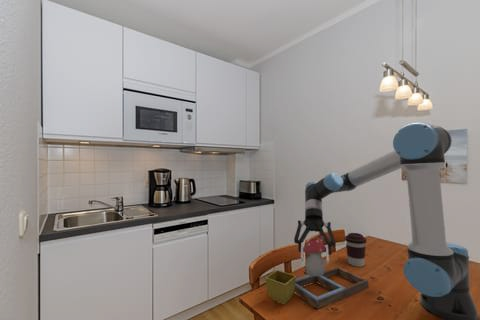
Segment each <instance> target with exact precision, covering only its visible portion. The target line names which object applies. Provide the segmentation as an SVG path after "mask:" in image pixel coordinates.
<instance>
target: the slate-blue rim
mask: <svg viewBox="0 0 480 320" xmlns="http://www.w3.org/2000/svg"><path fill="white" fill-rule="evenodd" d="M311 277H314V276H310V275H307V274H306V275H304V276H300V277H298V278H296V282H299V281H302V280H305V279H308V278H311ZM318 277H320V278H321V279H323V280H325V281H327V282H329V283H331V284H333V285H334V286H336V287H338V288H339V289H336V290H333V291H329V292H326V293H323V294H320V295H318V296H317V295H315V294H313V293H312V292H310V291H309V290H307V289H306V288H304V287H301V286H299V285H298V284H296V282H295V287H297V288H298V289H300V290H301V291H303V292H304V293H306V294H307V295H309V296H310V297H312V298H313V299H315V300H316V301H319V300H321V299H324V298H326V297H329V296H331V295H334V294H336V293H339V292H341V291H344V290H346V287H344V286H343V285H340V284H339V283H337V282H334V281H333V280H331V279H330V278H328V279H327V278H326V277H324V276H318Z"/></svg>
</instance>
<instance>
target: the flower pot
mask: <svg viewBox="0 0 480 320" xmlns="http://www.w3.org/2000/svg"><path fill="white" fill-rule="evenodd" d="M296 279H297V276H296V275H295V274H293V273H292V274H291V273H288V272H285V271H281V270H279V269H276V270H274V271H273V272H271V273H270V274H269V275H267V276H266V277H265V282H266V283H265V284H266V289H267V294H268V295H269V297H270V299H271V300H272V301H273V300H274V301H273V302H275V301H277V302H276V303H278V302H279V303H278V304H280V303H281V304H280V305H282V304H283V305H284V304H285V305H286V304H287V303H288V302H289V301H290V300H291V298H292V297H293V295H294V294H295V293H294V290H295V282H296ZM286 302H287V303H286ZM285 305H284V306H285Z"/></svg>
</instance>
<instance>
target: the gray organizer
mask: <svg viewBox="0 0 480 320" xmlns="http://www.w3.org/2000/svg"><path fill="white" fill-rule="evenodd" d="M338 274H339V275H338ZM335 275H336V276H340V275H341V276H340V277H342V276H343V277H342V278H344V277H345V278H344V279H346V278H347V279H346V280H348V279H349V280H348V281H350V280H351V281H350V282H352V281H353V282H352V283H354V282H355V283H354V284H351V285H349V286H346V287H345V288H346V290H344V291H341V292H339V293H336V294H334V295H331V296H329V297H326V298H324V299H321V300H319V301H316V300H315V299H313V298H312V297H310V296H309V295H307V294H306V293H304V292H303V291H301V290H300V289H298V288H297V287H295V290H294V292H296V293H297V294H298V295H300V296H301V297H302V298H304V299H305V300H306V301H307V302H306V301H305V300H304V301H305V302H306V303H308V302H309V303H310V304H309V303H308V304H309V305H311V304H312V305H313V306H314V308H315V307H316V308H319V309H321V308H320V307H322V308H324V307H326V306H328V304H329V305H331V304H333V302H334V303H336V302H339V301H341V300H343V299H345V298H347V297H350V296H352V294H353V295H354V294H357V293H359V292H363V291H365V290H367V289H369V280H368V279H366V278H363V277H361V276H359V275H357V274H354V273H352V272H350V271H348V270H345V269H343V268H341V267H338V266H337V267H334V268H331V269H328V270H324V274H323V275H322V276H324V277H326V278H328V279H330V278H329V277H331V278H333V276H334V277H336V276H335ZM314 282H316V283H317V282H318V283H320V284H321V285H320V284H319V285H320V286H322V285H323V286H322V287H324V286H325V287H326V288H325V287H324V288H325V289H327V288H328V289H327V290H329V291H330V290H331V291H333V290H336V289H339V288H338V287H336V286H334V285H333V284H331V283H329V282H327V281H325V280H323V279H321V278H320V277H318V276H316V277H311V278H308V279H305V280H302V281H299V282H296V284H298V285H299V286H304V285H307V284H310V283H313V284H315V283H314ZM318 283H317V284H318ZM366 288H367V289H366ZM331 291H330V292H331ZM298 295H297V296H298ZM301 297H300V298H301ZM302 298H301V299H302ZM340 299H341V300H340ZM330 303H331V304H330ZM312 305H311V306H312ZM325 305H326V306H325ZM313 306H312V307H313ZM323 306H324V307H323ZM316 308H315V309H316Z"/></svg>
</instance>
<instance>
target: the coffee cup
mask: <svg viewBox="0 0 480 320" xmlns="http://www.w3.org/2000/svg"><path fill="white" fill-rule="evenodd" d="M344 241H346V243H345V247H346V254H347V260H348V264H349V265H350V264H351V266H353V267H358V268H359V267H363V266H365V257H366V243H367V238H366V237H364V236H363V234H361V233H359V232H358V233H356V232H349V233H348V234H347V235H345V236H344Z"/></svg>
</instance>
